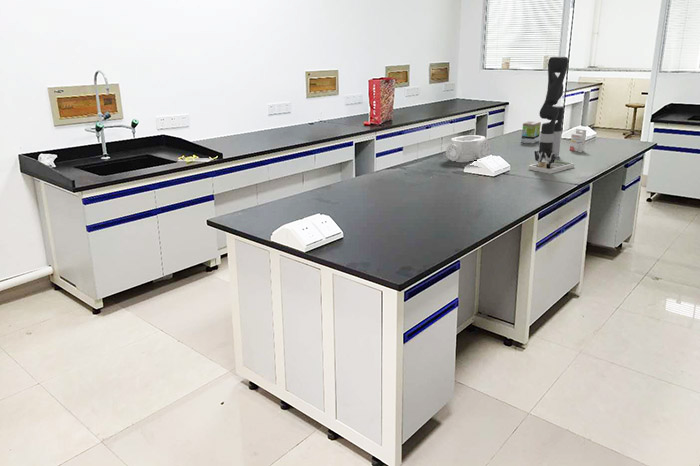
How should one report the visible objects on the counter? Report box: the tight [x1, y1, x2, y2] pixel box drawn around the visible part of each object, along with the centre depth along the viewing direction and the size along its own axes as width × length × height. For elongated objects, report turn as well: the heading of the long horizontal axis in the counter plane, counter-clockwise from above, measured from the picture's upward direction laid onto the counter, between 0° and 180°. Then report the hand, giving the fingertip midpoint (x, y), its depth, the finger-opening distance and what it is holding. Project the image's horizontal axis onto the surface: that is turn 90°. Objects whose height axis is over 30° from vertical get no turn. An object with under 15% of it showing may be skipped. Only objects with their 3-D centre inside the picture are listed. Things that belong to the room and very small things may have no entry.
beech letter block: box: [537, 160, 547, 168], centre depth 327 cm, size 5×5×5 cm
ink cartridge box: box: [569, 128, 587, 153], centre depth 379 cm, size 9×5×15 cm, turn 34°
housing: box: [445, 134, 492, 163], centre depth 362 cm, size 35×22×14 cm, turn 134°
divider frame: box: [528, 159, 576, 175], centre depth 332 cm, size 15×25×2 cm, turn 127°
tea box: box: [520, 121, 542, 144], centre depth 417 cm, size 15×10×15 cm, turn 147°
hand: (543, 168), depth 327 cm, fingers closed on beech letter block, 5 cm apart
